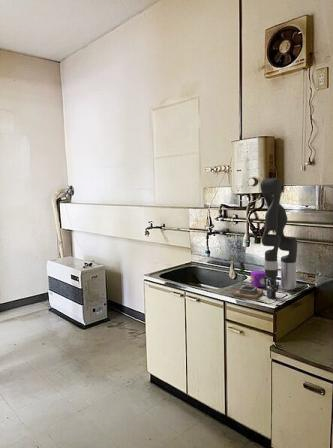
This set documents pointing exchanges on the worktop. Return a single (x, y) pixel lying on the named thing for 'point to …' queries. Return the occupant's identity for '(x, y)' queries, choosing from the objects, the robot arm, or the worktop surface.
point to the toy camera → (258, 278)
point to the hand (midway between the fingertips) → (271, 296)
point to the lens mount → (248, 292)
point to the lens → (269, 292)
